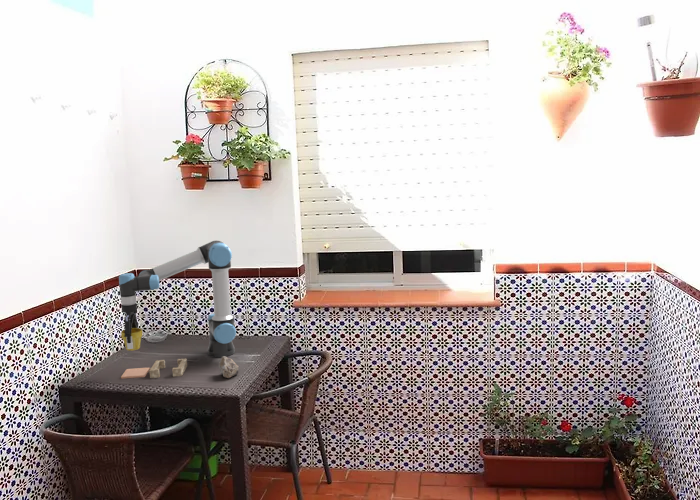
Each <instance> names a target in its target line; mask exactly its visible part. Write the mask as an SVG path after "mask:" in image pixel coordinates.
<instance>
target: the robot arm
mask: <svg viewBox="0 0 700 500" xmlns="http://www.w3.org/2000/svg"><path fill="white" fill-rule="evenodd" d="M232 253H233V252H232V249H230V247H229V246H228V245H227V244H226V243H224V241H223V242H222V241H221V240H212V241H210V242H208V243H206V244H203V245H200V246H199V247H198V246H197V249H196V250H193V251H192V252H189V253H187V254H184V255H182V256H179V257H177V258H174V259H173V260H169V261H167V262H165V263H162V264H159V265H157V266H155V267H152V268H150V269H148V270H142V271H141V272H140V273H139V274H138V276H135V274H134V273H132V272H129V273H127V272H126V273H121V274H120V275H118V285H119V294H120V297H119V300H120V304H121V306H120V307H121V312H122V313H125V316H124V317H123V319H124V321H123V322H124V330H125V335H124V337H126V340H127V349H133V341H132V336H131V331H132V328H139V324H138V318H137V310H138V303H137V293H136V292H143V291H154V290H158V289H160V281H162V280H164V279H167V278H170V277H171V276H174V275H177V274H179V273H181V272H184V271H187V270H188V269H191V268H193V267H196V266H198V265H200V264H204V265H205V264H208V269H209V270H210V271H211V278H212V279H211V280H212V295H213V298H212V300H213V310H214V311H213V312H214V313H211V314H208V316H207V323H208V331H209V332H208V333H209V334H208V335H209V344H208V347H207V356H208V357H212V358H222V357H223V356H225V357H230V356H232V355H233V354H235V353H236V348H235V345H234V343H233V340H235V338H236V335H237V329H236V327H235V319H234V317H235V316H234V315H233V314H232V313H231V299H230V298H231V296H230V293H231V292H230V281H229V280H230V278H229V270H230V269H231V268H232V258H233V257H232V256H233V254H232ZM127 349H126V350H127Z"/></svg>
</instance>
